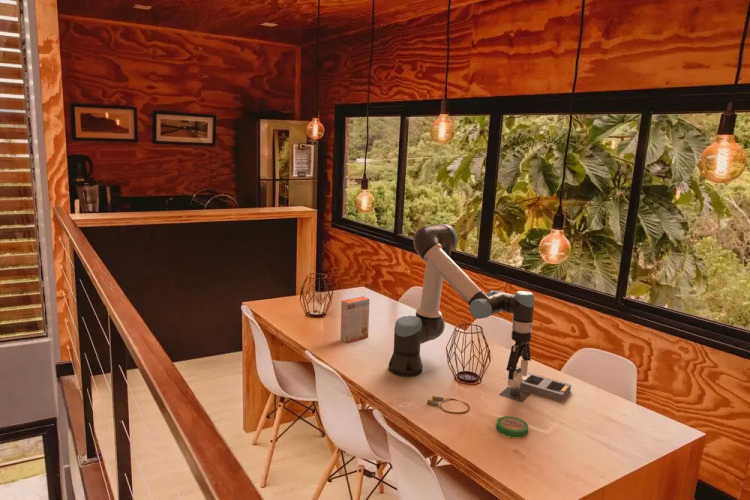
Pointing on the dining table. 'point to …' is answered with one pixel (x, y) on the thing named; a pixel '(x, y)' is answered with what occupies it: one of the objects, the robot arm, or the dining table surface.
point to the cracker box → (354, 319)
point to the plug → (517, 383)
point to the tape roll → (512, 432)
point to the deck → (520, 398)
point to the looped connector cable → (442, 402)
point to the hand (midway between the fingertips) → (517, 380)
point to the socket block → (545, 387)
